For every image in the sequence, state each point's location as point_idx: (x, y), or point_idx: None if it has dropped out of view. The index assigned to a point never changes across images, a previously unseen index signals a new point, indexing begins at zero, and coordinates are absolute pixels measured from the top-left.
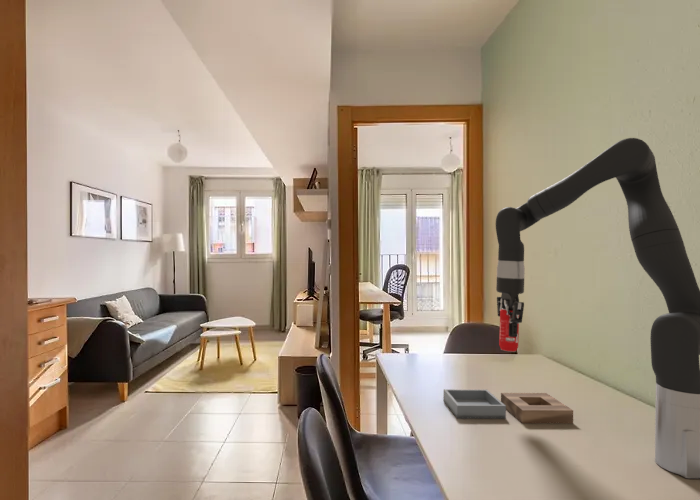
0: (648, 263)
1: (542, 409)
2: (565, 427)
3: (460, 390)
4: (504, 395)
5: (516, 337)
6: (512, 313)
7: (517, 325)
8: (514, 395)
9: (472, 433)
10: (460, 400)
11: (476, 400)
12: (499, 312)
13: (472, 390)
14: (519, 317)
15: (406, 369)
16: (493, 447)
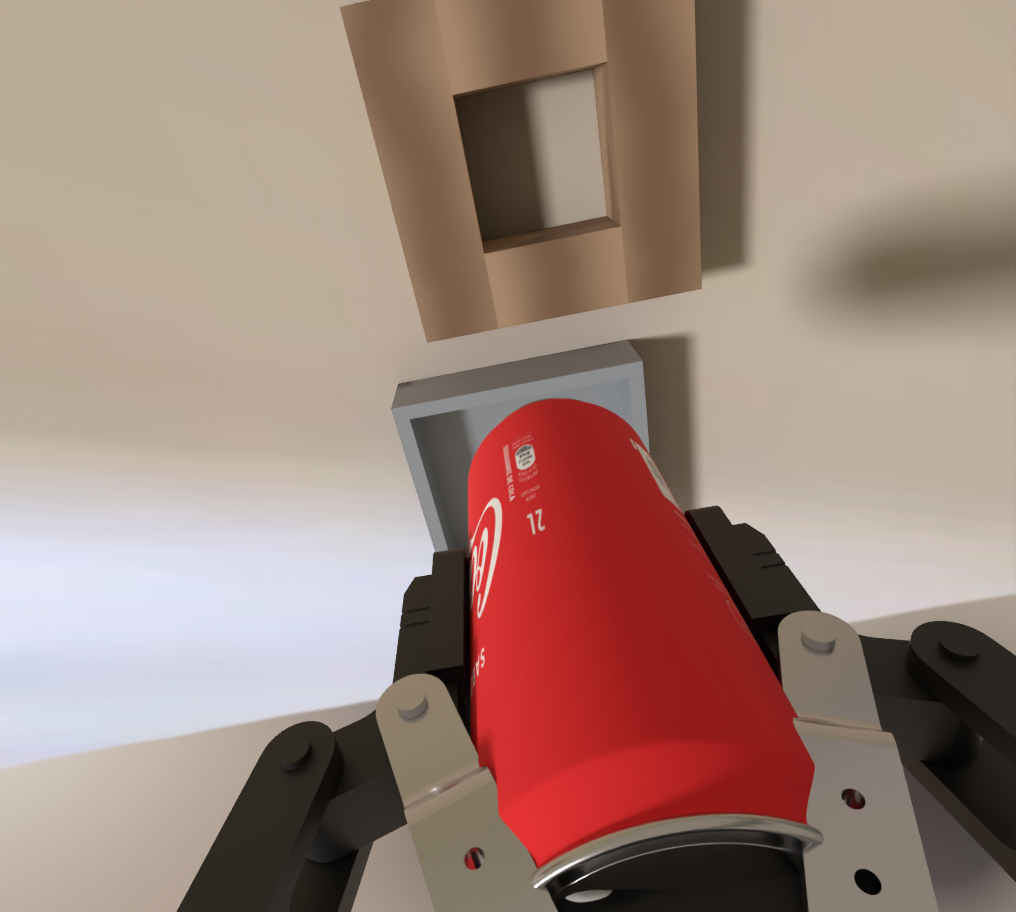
0: None
1: (685, 164)
2: (724, 36)
3: (444, 532)
4: (473, 332)
5: (666, 488)
6: (1008, 869)
7: (781, 597)
8: (459, 272)
9: (781, 490)
10: (464, 509)
11: (445, 443)
12: (356, 874)
13: (428, 481)
14: (994, 717)
15: (27, 690)
16: (898, 439)
